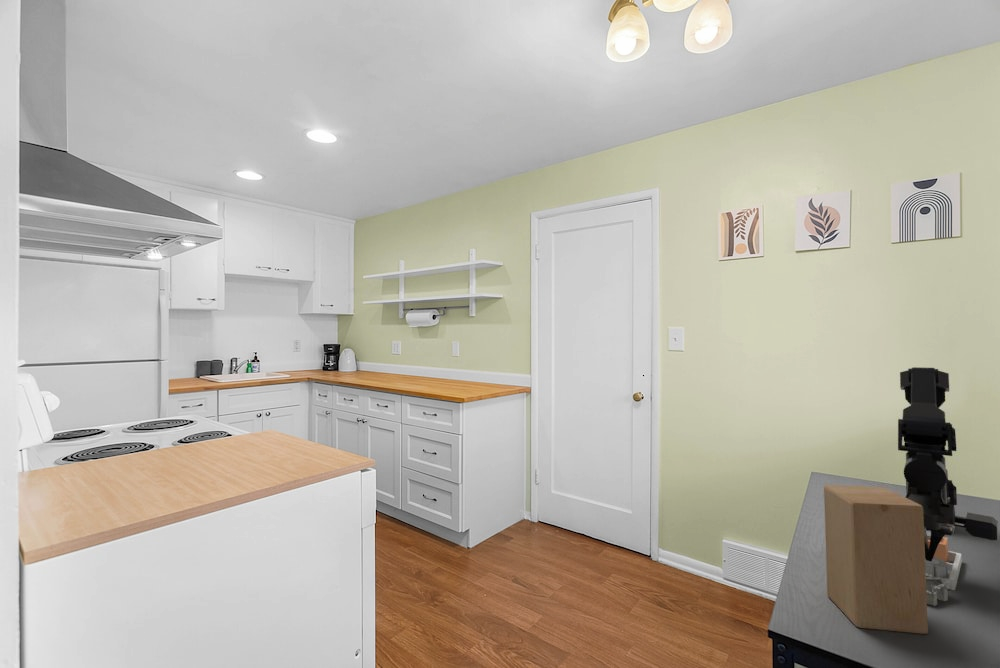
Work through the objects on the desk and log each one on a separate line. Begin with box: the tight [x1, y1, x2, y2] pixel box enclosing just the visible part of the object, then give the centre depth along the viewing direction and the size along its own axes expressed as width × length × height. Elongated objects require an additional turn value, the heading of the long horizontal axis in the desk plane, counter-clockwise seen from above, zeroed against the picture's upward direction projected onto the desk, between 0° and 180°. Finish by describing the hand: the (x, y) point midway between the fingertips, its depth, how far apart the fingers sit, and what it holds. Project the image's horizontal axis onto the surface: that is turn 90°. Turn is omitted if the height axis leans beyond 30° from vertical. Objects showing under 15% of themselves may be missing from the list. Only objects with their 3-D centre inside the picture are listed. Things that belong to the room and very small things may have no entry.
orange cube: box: [926, 530, 950, 563], centre depth 96 cm, size 5×4×6 cm
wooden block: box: [823, 484, 929, 635], centre depth 78 cm, size 10×10×20 cm
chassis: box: [936, 550, 963, 591], centre depth 93 cm, size 16×8×2 cm, turn 132°
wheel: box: [925, 557, 948, 578], centre depth 90 cm, size 5×5×2 cm
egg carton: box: [926, 573, 950, 607], centre depth 86 cm, size 11×8×4 cm
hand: (929, 560), depth 90 cm, fingers closed, pressing on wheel
